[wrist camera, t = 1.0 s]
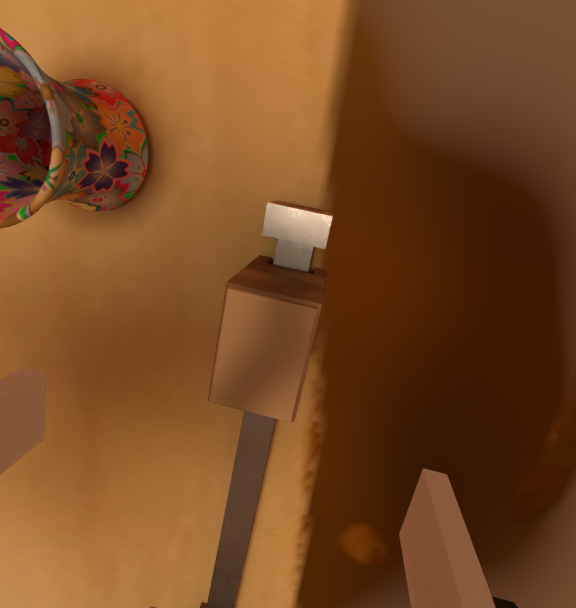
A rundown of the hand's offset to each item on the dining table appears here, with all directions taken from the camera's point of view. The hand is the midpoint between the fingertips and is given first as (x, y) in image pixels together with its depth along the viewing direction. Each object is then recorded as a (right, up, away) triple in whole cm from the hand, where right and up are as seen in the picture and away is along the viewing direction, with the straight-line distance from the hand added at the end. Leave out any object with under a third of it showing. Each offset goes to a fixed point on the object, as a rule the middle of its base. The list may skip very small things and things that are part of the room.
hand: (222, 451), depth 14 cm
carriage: (+2, +5, +16) cm, 17 cm away
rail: (-1, -7, +20) cm, 22 cm away
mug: (-13, +16, +15) cm, 26 cm away
